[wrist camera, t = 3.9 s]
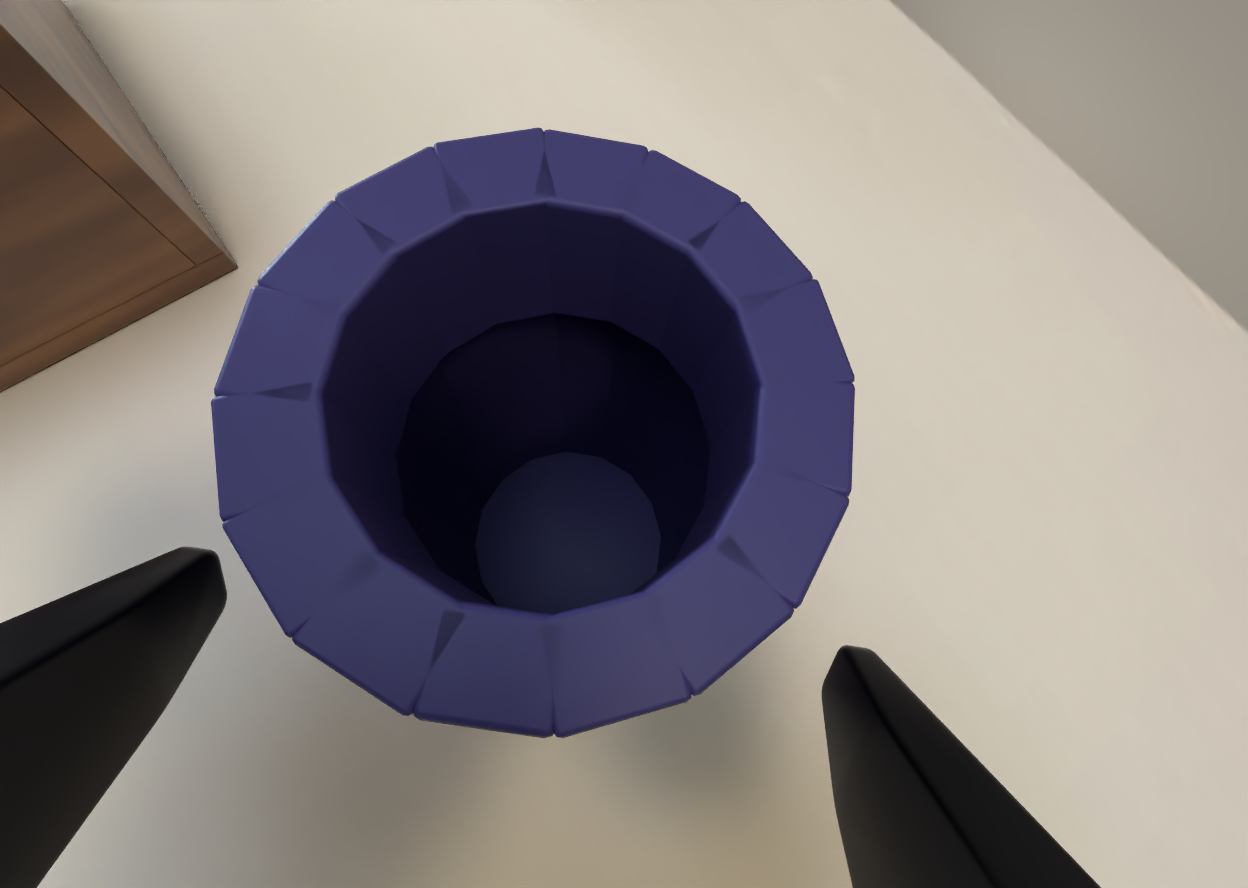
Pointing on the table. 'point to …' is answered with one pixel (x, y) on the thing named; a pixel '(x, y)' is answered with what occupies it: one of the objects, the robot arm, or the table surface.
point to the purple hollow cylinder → (534, 433)
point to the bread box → (82, 199)
